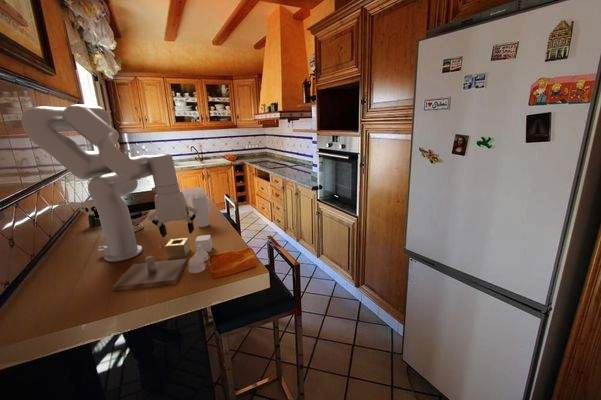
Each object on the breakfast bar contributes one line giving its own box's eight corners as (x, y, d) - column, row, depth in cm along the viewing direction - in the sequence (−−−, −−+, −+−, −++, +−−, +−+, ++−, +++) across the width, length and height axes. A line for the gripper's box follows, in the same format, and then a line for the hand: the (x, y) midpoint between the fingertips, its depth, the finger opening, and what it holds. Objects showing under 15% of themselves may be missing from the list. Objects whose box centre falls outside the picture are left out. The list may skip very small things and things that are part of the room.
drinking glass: (213, 224, 137) (209, 194, 133) (202, 229, 132) (197, 198, 128) (204, 222, 141) (200, 193, 137) (193, 227, 135) (188, 196, 131)
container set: (199, 248, 111) (197, 235, 110) (213, 247, 112) (211, 234, 110) (187, 274, 92) (184, 259, 91) (204, 272, 93) (201, 257, 91)
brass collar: (167, 258, 104) (165, 246, 102) (173, 251, 110) (170, 239, 108) (185, 256, 104) (183, 244, 103) (190, 249, 110) (188, 237, 109)
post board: (113, 291, 85) (108, 271, 83) (134, 268, 98) (129, 251, 96) (175, 283, 86) (171, 264, 85) (187, 262, 100) (184, 245, 98)
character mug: (81, 228, 143) (74, 204, 139) (87, 224, 149) (81, 200, 146) (106, 225, 146) (100, 201, 142) (110, 221, 152) (105, 197, 149)
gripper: (137, 194, 96) (150, 241, 100) (190, 188, 97) (199, 234, 102) (146, 190, 103) (157, 233, 108) (195, 184, 105) (203, 227, 109)
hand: (178, 234), depth 105 cm, fingers open, 9 cm apart
